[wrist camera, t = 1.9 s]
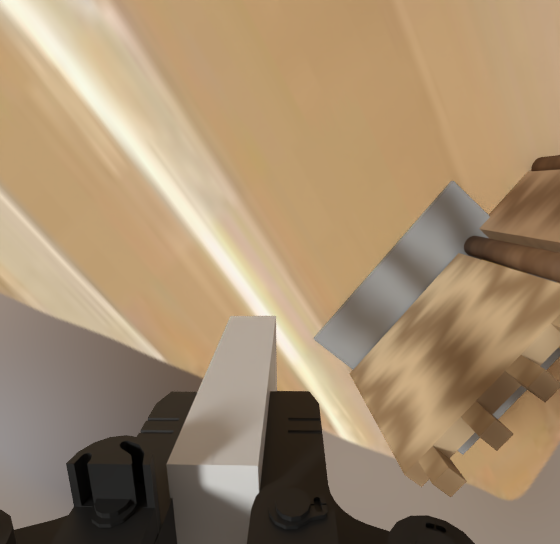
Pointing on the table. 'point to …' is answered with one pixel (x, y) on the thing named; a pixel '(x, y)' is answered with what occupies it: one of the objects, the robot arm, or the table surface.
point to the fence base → (443, 249)
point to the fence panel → (459, 364)
